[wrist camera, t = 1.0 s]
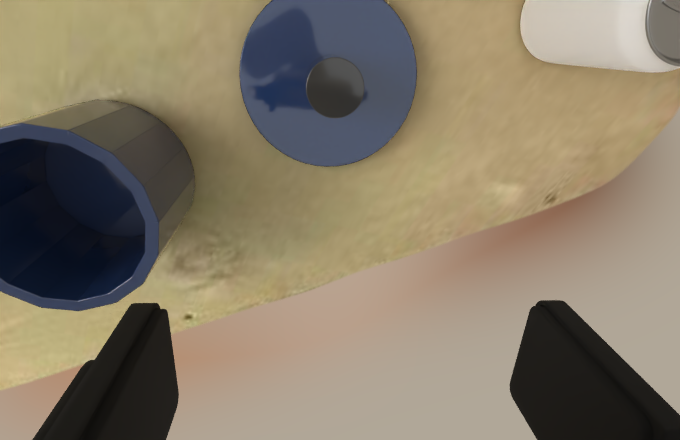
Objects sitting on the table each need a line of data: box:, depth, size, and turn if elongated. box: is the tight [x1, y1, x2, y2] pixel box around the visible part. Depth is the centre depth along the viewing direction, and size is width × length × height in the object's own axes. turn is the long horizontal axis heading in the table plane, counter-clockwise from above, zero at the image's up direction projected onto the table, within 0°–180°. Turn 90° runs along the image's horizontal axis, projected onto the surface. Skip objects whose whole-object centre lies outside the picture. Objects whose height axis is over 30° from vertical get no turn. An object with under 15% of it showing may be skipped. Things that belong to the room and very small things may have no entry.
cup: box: [0, 100, 195, 311], centre depth 28 cm, size 12×12×10 cm
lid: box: [240, 0, 417, 167], centre depth 28 cm, size 13×13×6 cm
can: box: [520, 0, 680, 73], centre depth 25 cm, size 6×6×12 cm
